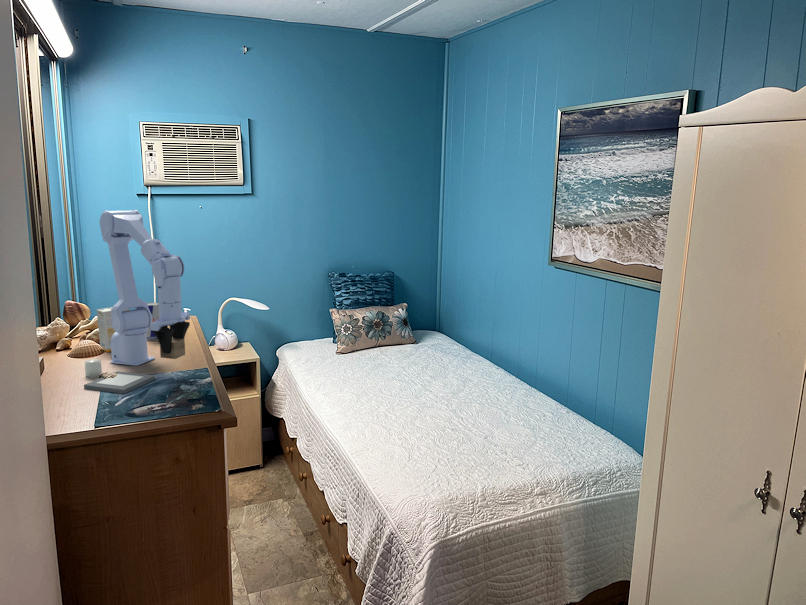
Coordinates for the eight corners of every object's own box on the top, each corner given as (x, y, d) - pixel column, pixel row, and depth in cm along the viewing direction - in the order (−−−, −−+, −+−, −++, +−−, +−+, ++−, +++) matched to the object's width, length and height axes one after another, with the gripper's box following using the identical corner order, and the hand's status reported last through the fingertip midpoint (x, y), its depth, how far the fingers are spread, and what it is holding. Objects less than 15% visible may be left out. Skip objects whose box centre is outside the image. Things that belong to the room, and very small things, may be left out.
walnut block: (160, 357, 162) (159, 341, 161) (171, 353, 166) (170, 337, 165) (175, 359, 161) (174, 342, 160) (185, 354, 165) (184, 338, 164)
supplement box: (125, 344, 195) (122, 305, 192) (132, 347, 192) (129, 307, 189) (99, 349, 189) (96, 308, 186) (106, 352, 186) (103, 311, 183)
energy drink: (145, 341, 199) (142, 306, 197) (143, 337, 204) (141, 303, 201) (162, 339, 202) (160, 304, 199) (160, 336, 206) (158, 302, 204)
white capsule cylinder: (82, 376, 163) (80, 362, 162) (93, 372, 167) (92, 358, 166) (94, 377, 162) (93, 363, 161) (105, 373, 166) (104, 359, 165)
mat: (84, 388, 153) (83, 384, 153) (117, 374, 164) (117, 370, 164) (124, 393, 150) (123, 389, 150) (155, 379, 161) (154, 375, 161)
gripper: (165, 307, 153) (168, 359, 155) (198, 297, 166) (200, 345, 169) (141, 305, 154) (145, 356, 157) (176, 296, 168) (179, 343, 171)
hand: (172, 350), depth 163 cm, fingers closed on walnut block, 4 cm apart
